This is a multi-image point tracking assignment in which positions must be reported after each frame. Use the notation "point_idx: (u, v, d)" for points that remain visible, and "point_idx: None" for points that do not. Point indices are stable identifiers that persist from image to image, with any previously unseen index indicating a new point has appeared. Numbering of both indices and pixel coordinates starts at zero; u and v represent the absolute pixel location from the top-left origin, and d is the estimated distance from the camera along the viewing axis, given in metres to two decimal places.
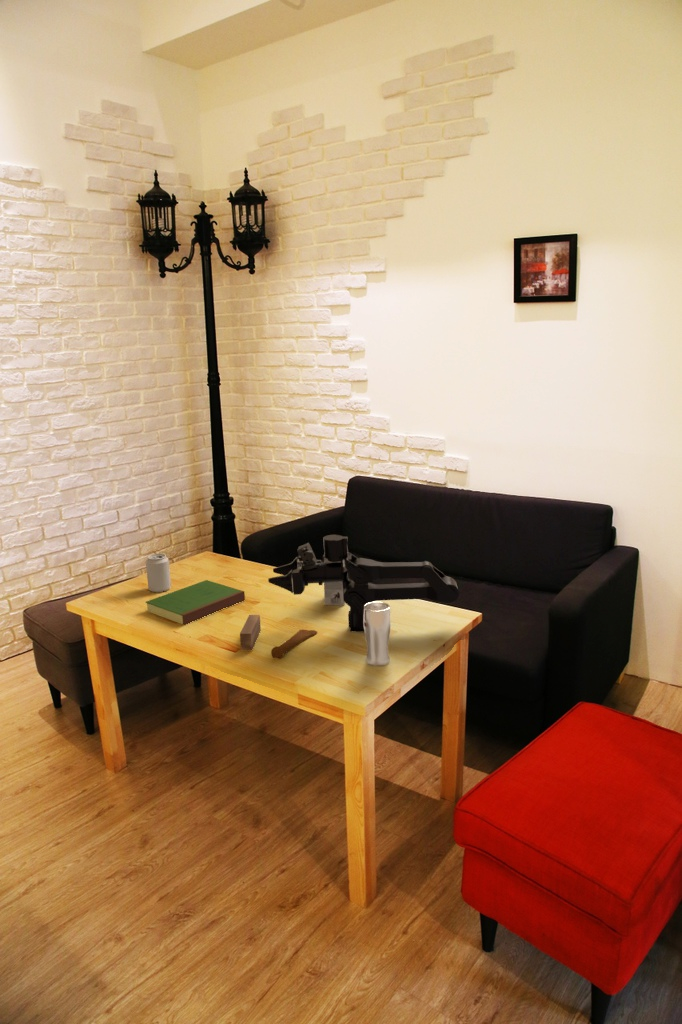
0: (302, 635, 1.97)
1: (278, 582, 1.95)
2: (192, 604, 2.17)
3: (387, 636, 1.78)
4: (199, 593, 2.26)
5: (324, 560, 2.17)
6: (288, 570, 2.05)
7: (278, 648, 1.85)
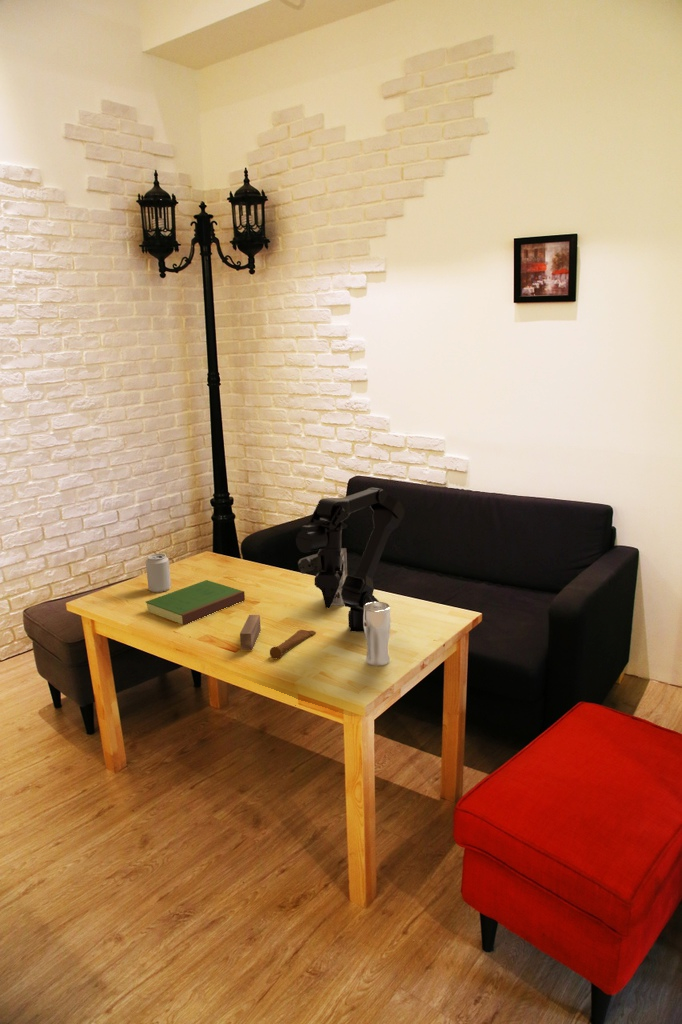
0: (301, 635, 1.97)
1: (329, 598, 1.85)
2: (192, 604, 2.17)
3: (387, 636, 1.78)
4: (199, 593, 2.26)
5: None
6: None
7: (276, 648, 1.85)
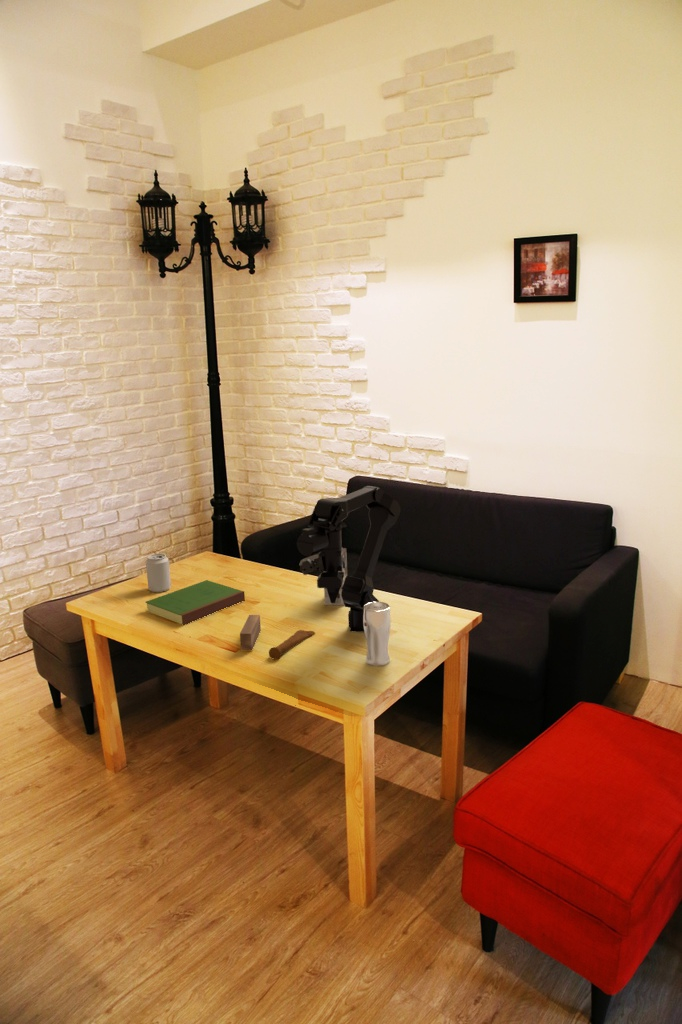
0: (300, 636, 1.97)
1: (333, 593, 1.88)
2: (191, 604, 2.17)
3: (387, 636, 1.78)
4: (199, 593, 2.26)
5: None
6: None
7: (275, 649, 1.85)
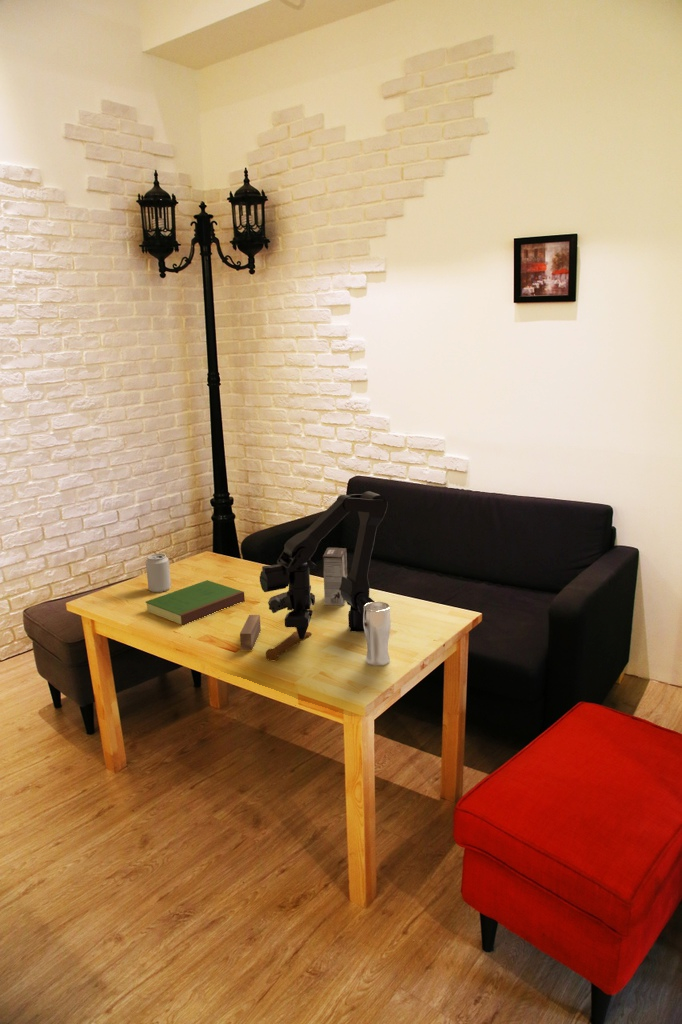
0: (296, 637, 1.96)
1: (302, 630, 1.92)
2: (191, 604, 2.17)
3: (387, 636, 1.78)
4: (199, 593, 2.26)
5: (324, 560, 2.17)
6: None
7: (272, 650, 1.84)
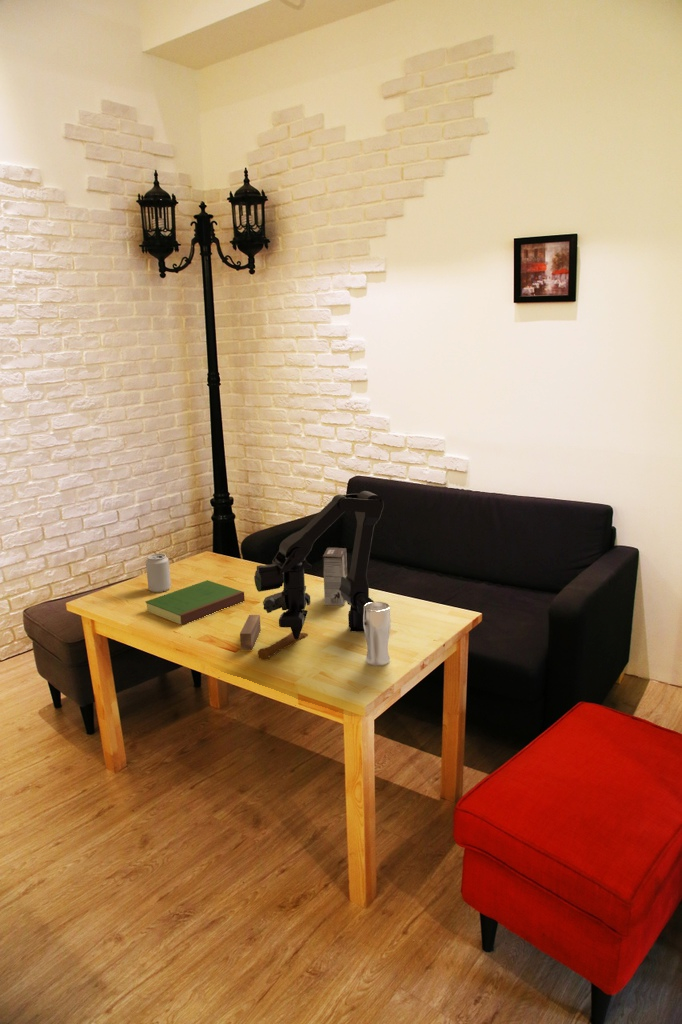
0: (292, 638, 1.96)
1: (296, 630, 1.93)
2: (191, 604, 2.17)
3: (387, 636, 1.78)
4: (199, 593, 2.26)
5: (324, 560, 2.17)
6: None
7: (264, 650, 1.85)
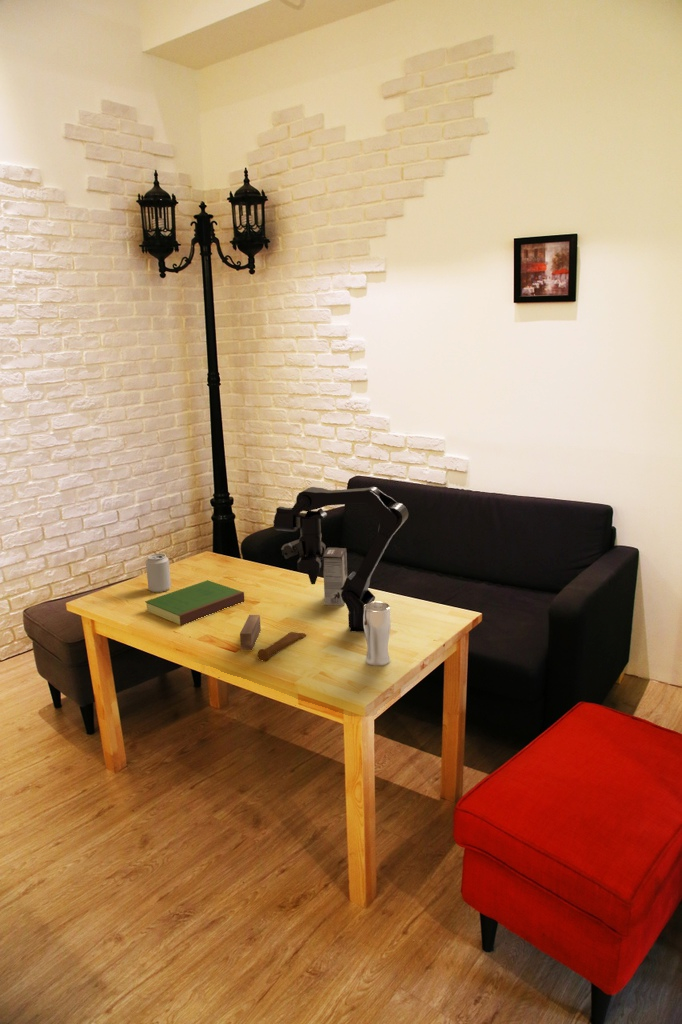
0: (290, 638, 1.95)
1: (313, 575, 2.03)
2: (190, 604, 2.17)
3: (387, 636, 1.78)
4: (199, 593, 2.26)
5: (324, 560, 2.17)
6: None
7: (264, 651, 1.84)
